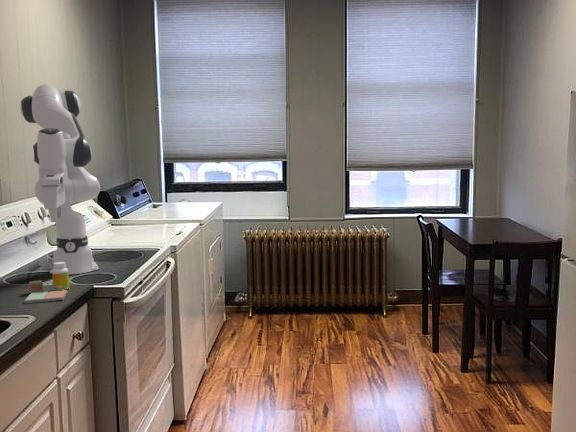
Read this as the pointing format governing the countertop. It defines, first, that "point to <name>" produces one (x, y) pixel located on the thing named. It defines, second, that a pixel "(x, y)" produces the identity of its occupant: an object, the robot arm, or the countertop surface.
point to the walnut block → (36, 286)
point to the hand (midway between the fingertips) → (56, 219)
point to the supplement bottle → (60, 276)
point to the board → (46, 296)
